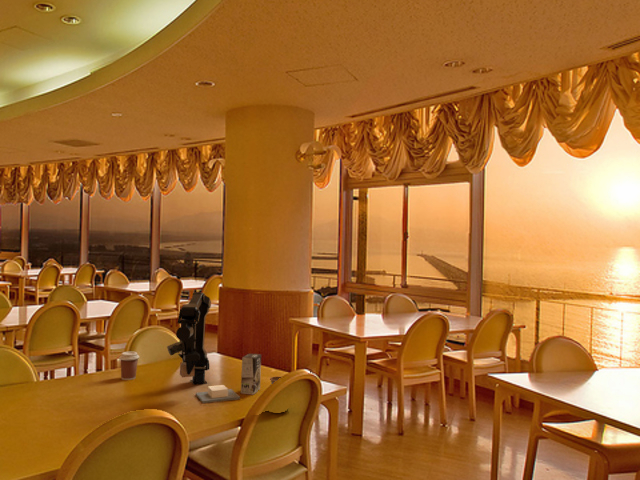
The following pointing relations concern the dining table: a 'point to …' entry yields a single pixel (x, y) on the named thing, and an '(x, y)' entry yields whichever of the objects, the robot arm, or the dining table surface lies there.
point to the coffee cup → (128, 365)
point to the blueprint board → (207, 399)
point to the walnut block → (184, 371)
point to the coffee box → (251, 373)
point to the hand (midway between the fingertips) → (187, 372)
